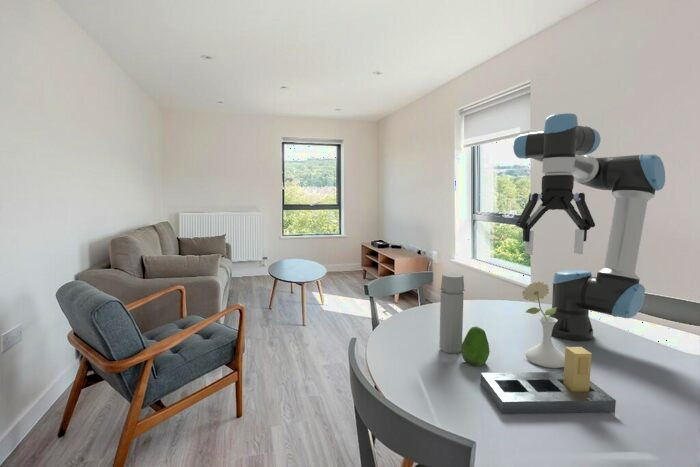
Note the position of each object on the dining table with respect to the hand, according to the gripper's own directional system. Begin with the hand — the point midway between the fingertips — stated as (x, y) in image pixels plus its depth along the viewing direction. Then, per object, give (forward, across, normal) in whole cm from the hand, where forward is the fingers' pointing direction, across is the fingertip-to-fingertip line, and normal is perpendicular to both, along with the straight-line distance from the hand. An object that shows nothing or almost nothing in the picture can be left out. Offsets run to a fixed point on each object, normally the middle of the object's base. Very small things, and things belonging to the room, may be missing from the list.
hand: (553, 253), depth 104 cm
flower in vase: (+35, -3, -8) cm, 36 cm away
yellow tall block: (+34, 0, +13) cm, 36 cm away
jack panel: (+35, +8, +13) cm, 38 cm away
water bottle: (+35, +22, -19) cm, 45 cm away
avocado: (+35, +18, -7) cm, 40 cm away
